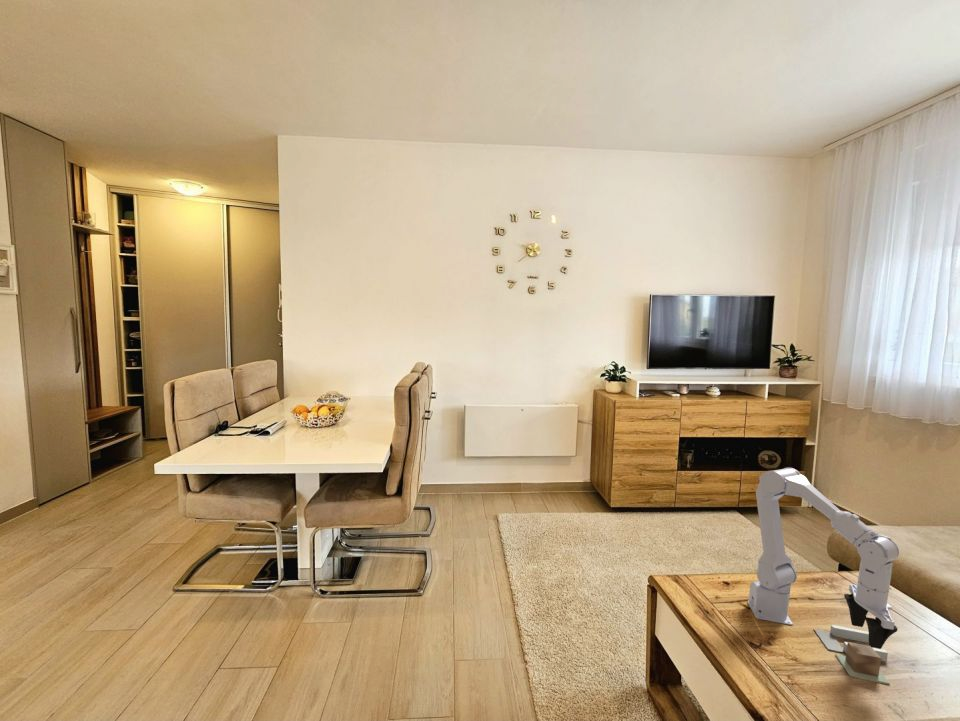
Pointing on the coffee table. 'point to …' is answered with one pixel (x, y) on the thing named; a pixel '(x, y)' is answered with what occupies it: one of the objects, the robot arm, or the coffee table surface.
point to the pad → (859, 675)
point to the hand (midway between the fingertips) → (865, 636)
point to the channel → (848, 634)
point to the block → (863, 659)
